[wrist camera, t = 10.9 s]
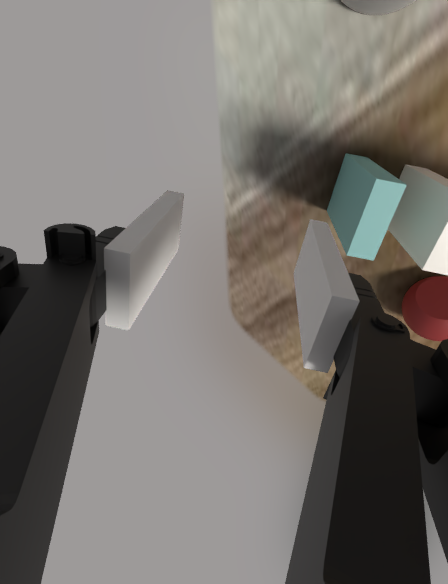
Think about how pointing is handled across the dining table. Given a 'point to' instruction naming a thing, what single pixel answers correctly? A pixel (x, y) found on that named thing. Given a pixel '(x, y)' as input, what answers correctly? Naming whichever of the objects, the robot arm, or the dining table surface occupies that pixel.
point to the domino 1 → (363, 205)
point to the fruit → (428, 308)
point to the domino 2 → (423, 218)
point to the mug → (377, 6)
